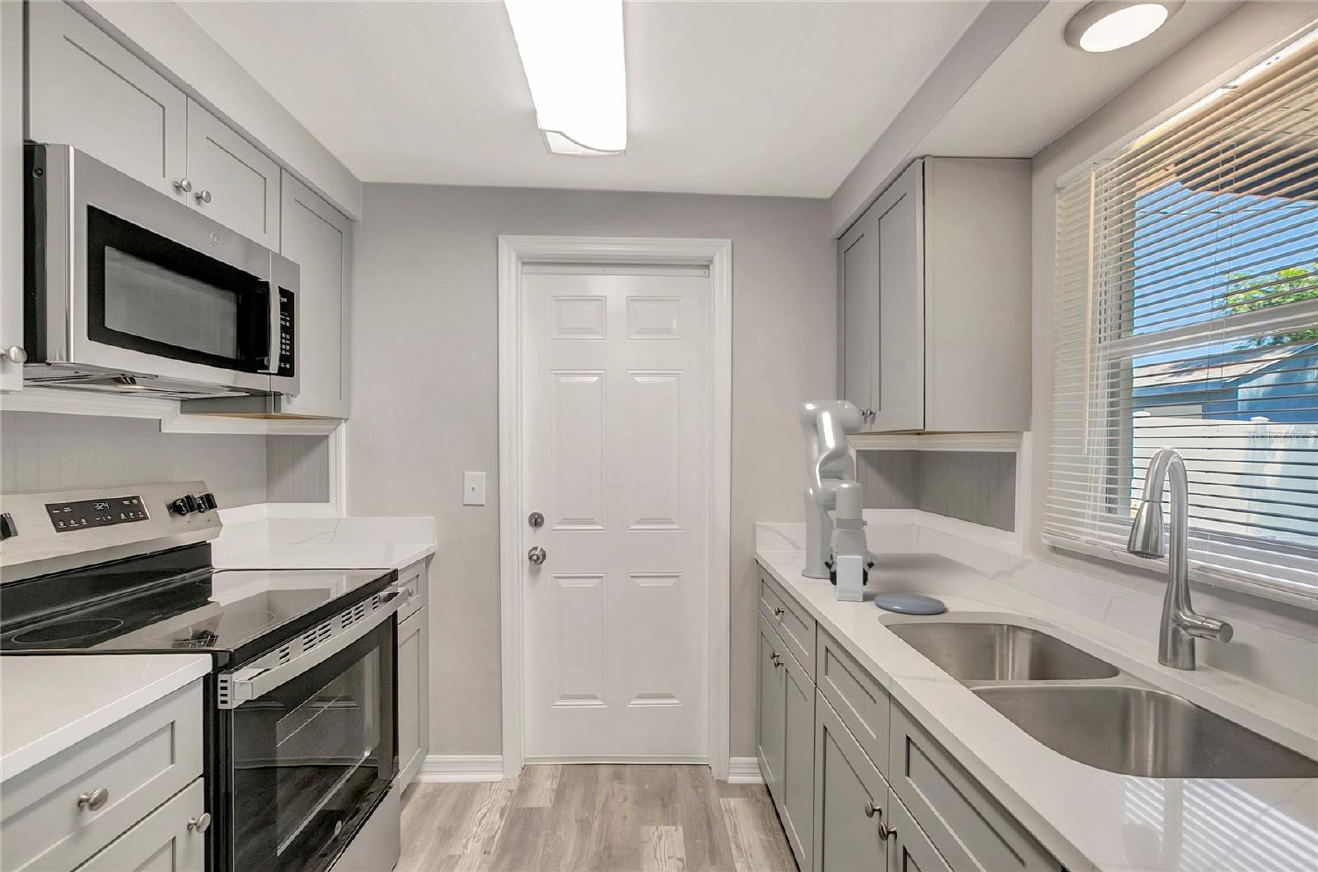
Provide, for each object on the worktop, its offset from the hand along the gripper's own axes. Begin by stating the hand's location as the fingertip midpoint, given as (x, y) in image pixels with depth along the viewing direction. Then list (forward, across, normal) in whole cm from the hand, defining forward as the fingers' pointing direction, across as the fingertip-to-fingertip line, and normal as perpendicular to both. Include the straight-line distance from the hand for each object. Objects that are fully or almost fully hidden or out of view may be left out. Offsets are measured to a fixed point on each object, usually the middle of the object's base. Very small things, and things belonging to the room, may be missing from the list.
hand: (848, 584), depth 182 cm
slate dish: (+4, -14, +9) cm, 17 cm away
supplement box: (+4, 0, 0) cm, 4 cm away
